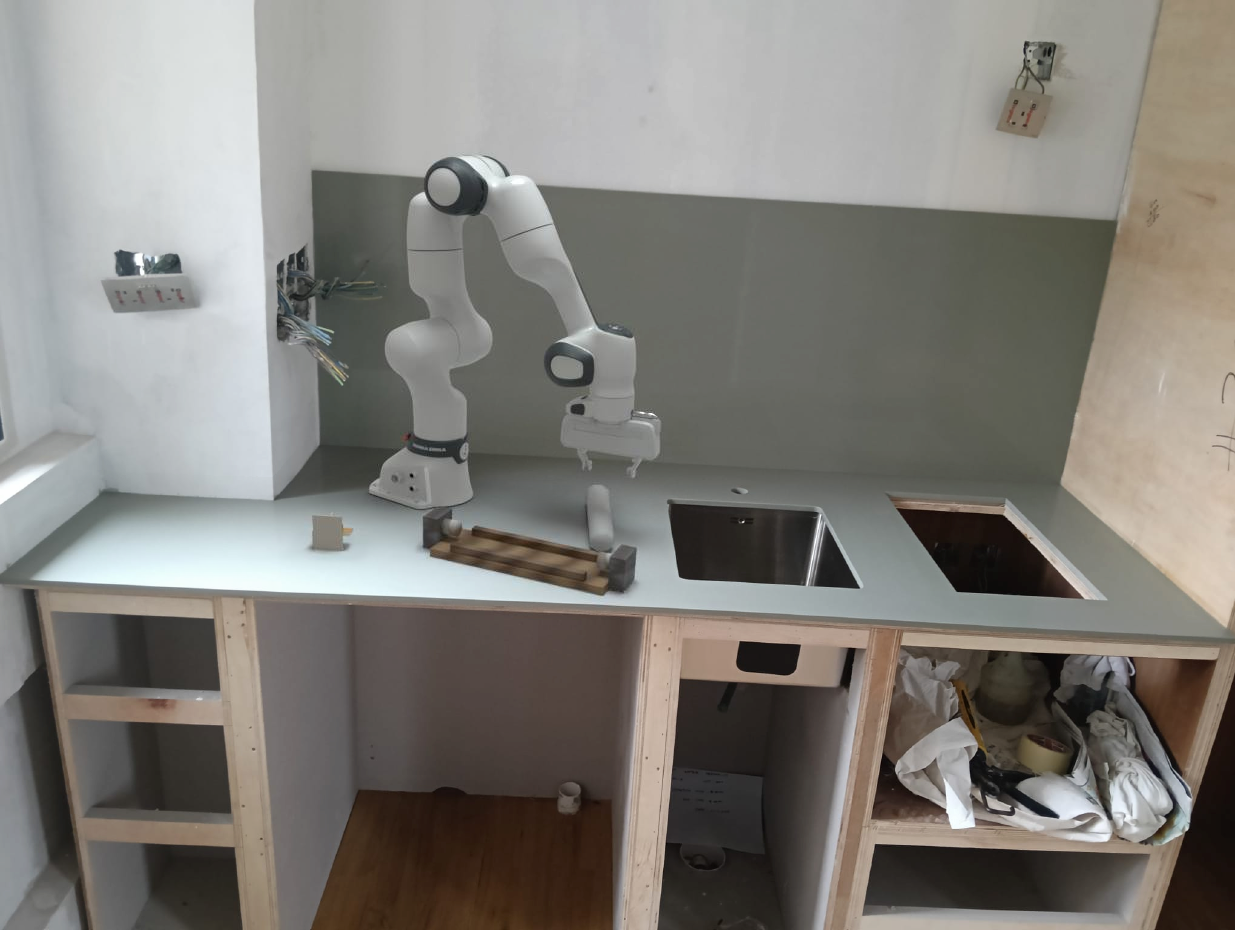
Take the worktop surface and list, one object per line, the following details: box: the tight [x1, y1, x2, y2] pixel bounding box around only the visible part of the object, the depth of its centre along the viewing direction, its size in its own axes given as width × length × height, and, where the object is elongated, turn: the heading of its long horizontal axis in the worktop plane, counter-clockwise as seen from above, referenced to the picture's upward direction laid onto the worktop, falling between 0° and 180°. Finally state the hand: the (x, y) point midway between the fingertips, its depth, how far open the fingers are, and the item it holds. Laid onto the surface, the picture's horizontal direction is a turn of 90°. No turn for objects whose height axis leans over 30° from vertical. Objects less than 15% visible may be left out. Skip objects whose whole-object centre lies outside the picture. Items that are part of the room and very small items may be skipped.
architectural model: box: [311, 511, 354, 551], centre depth 187 cm, size 3×7×7 cm, turn 91°
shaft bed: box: [422, 506, 638, 596], centre depth 186 cm, size 41×11×6 cm, turn 70°
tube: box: [585, 484, 615, 553], centre depth 203 cm, size 5×5×25 cm
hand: (608, 473), depth 200 cm, fingers open, 8 cm apart
